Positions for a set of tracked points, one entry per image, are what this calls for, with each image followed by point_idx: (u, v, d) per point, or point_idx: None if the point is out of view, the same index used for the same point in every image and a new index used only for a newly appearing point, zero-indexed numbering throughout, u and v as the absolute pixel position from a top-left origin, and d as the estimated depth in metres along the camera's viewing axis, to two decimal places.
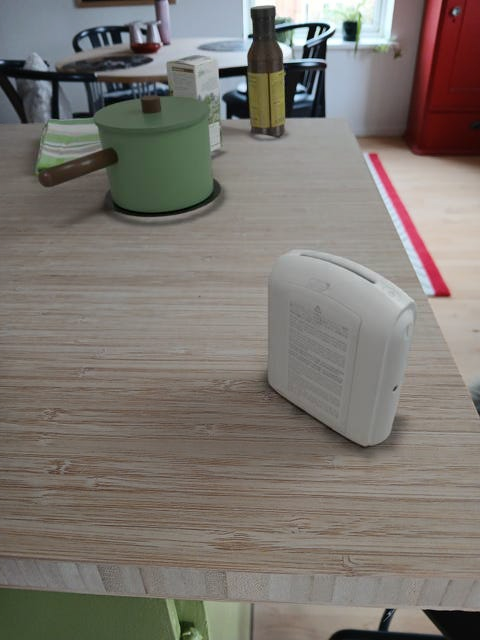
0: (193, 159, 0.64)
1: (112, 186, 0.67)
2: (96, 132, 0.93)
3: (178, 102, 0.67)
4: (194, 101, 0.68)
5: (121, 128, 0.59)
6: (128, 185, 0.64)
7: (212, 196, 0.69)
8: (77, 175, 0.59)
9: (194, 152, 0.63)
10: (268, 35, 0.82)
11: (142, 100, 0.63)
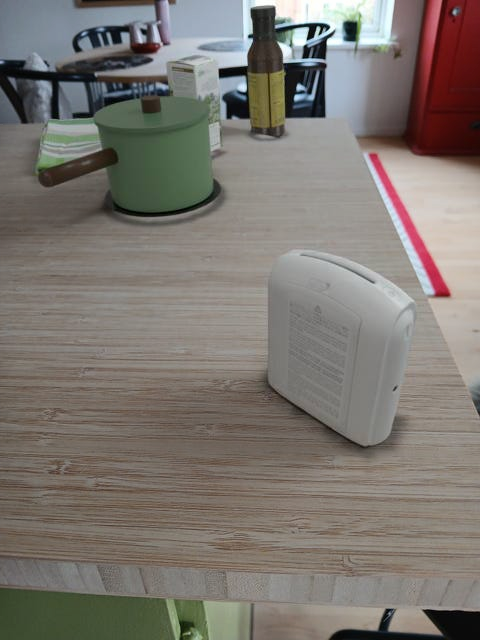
0: (193, 159, 0.64)
1: (112, 186, 0.67)
2: (96, 132, 0.93)
3: (178, 102, 0.67)
4: (194, 101, 0.68)
5: (121, 128, 0.59)
6: (128, 185, 0.64)
7: (212, 196, 0.69)
8: (77, 175, 0.59)
9: (194, 152, 0.63)
10: (268, 35, 0.82)
11: (142, 100, 0.63)
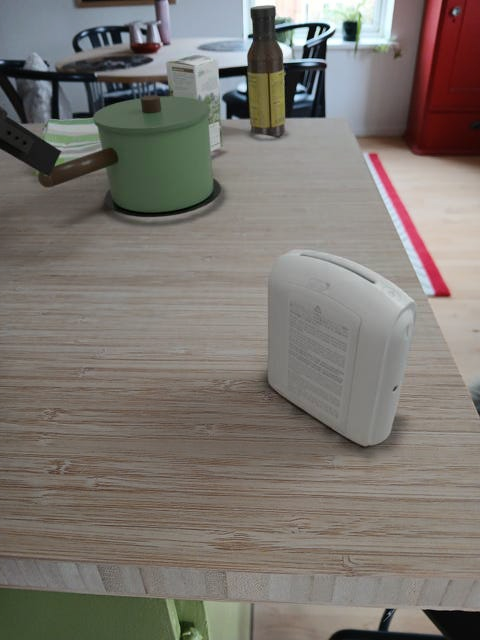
0: (193, 159, 0.64)
1: (112, 186, 0.67)
2: (96, 132, 0.93)
3: (178, 102, 0.67)
4: (194, 101, 0.68)
5: (121, 128, 0.59)
6: (128, 185, 0.64)
7: (212, 196, 0.69)
8: (77, 175, 0.59)
9: (194, 152, 0.63)
10: (268, 35, 0.82)
11: (142, 100, 0.63)
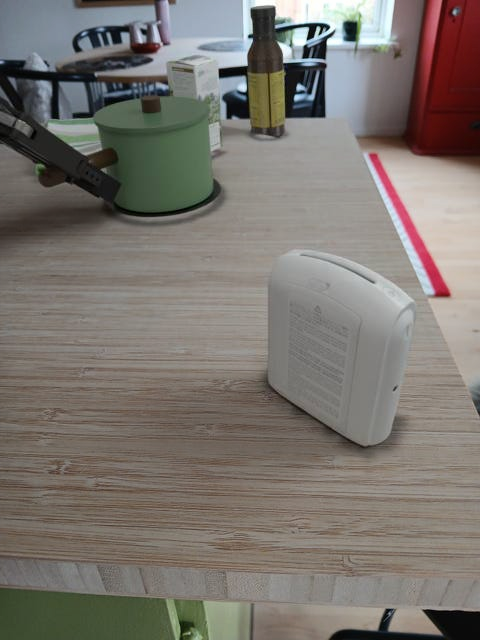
0: (193, 159, 0.64)
1: None
2: (96, 132, 0.93)
3: (178, 102, 0.67)
4: (194, 101, 0.68)
5: (121, 128, 0.59)
6: (128, 185, 0.64)
7: (212, 196, 0.69)
8: None
9: (194, 152, 0.63)
10: (268, 35, 0.82)
11: (142, 100, 0.63)
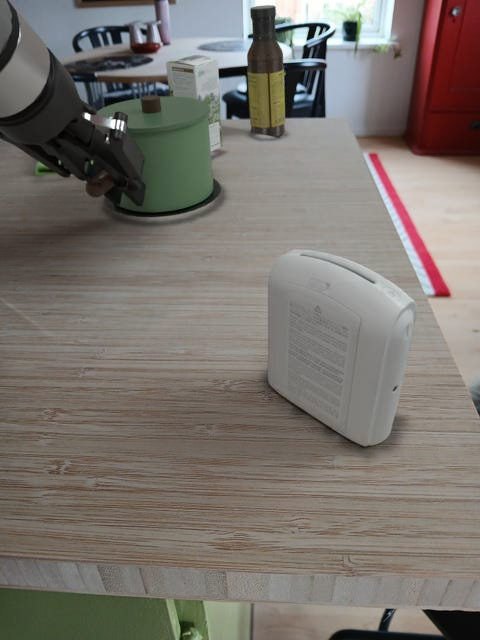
0: (207, 151, 0.66)
1: None
2: None
3: (165, 101, 0.68)
4: (179, 98, 0.69)
5: (148, 128, 0.59)
6: (151, 186, 0.63)
7: (212, 196, 0.69)
8: None
9: (207, 144, 0.65)
10: (268, 35, 0.82)
11: (145, 100, 0.63)
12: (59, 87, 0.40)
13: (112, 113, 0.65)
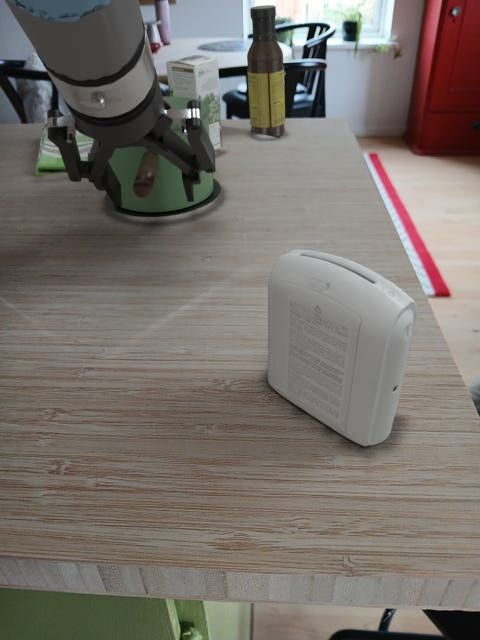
0: None
1: None
2: None
3: None
4: (165, 98, 0.70)
5: None
6: (169, 185, 0.64)
7: (212, 196, 0.69)
8: None
9: None
10: (268, 35, 0.82)
11: None
12: (157, 83, 0.40)
13: None
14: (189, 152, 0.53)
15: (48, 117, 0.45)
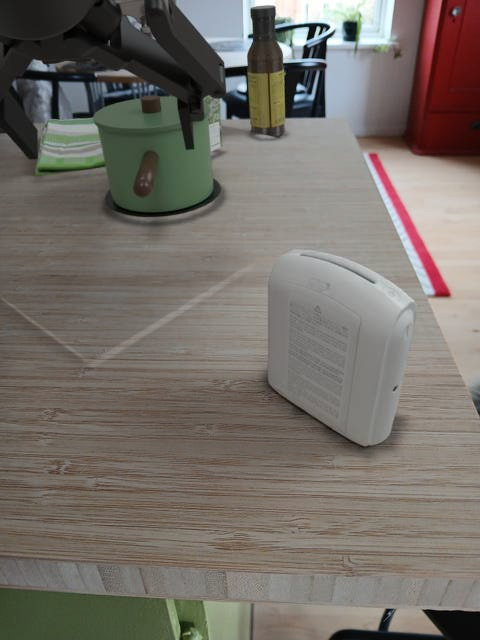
0: None
1: None
2: (96, 132, 0.93)
3: None
4: (165, 98, 0.70)
5: (168, 126, 0.59)
6: (169, 185, 0.64)
7: (212, 196, 0.69)
8: None
9: None
10: (268, 35, 0.82)
11: (148, 100, 0.63)
12: None
13: (112, 116, 0.63)
14: (180, 66, 0.36)
15: None
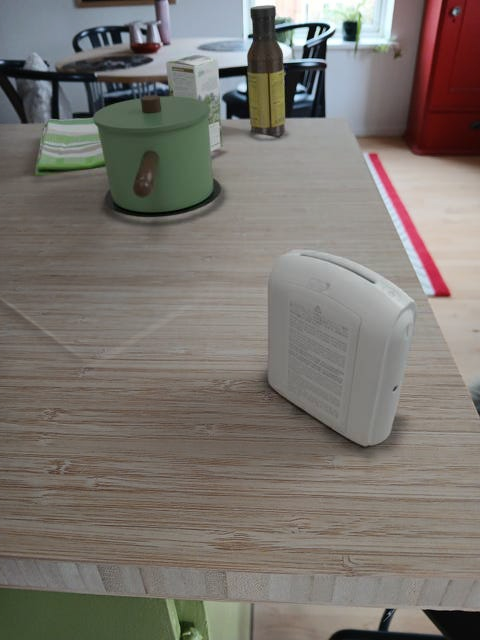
0: None
1: None
2: (96, 132, 0.93)
3: None
4: (165, 98, 0.70)
5: (168, 126, 0.59)
6: (169, 185, 0.64)
7: (212, 196, 0.69)
8: None
9: None
10: (268, 35, 0.82)
11: (148, 100, 0.63)
12: None
13: (112, 116, 0.63)
14: None
15: None
